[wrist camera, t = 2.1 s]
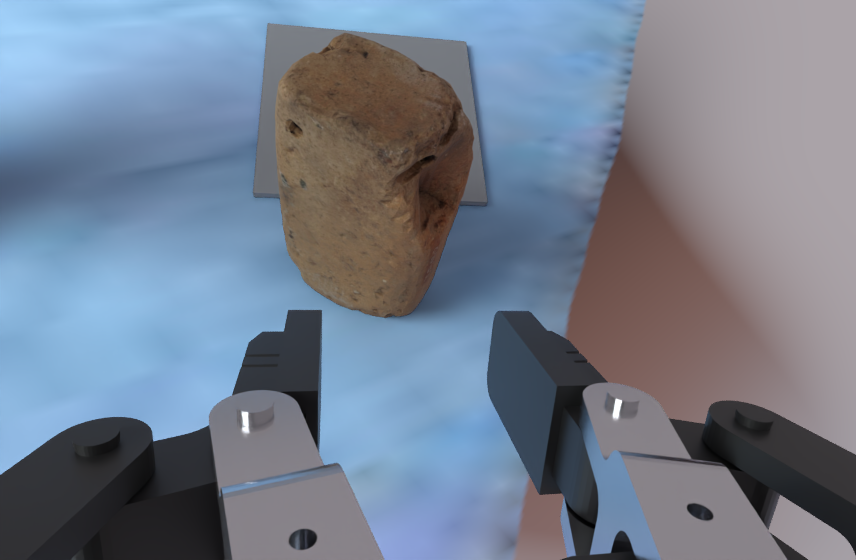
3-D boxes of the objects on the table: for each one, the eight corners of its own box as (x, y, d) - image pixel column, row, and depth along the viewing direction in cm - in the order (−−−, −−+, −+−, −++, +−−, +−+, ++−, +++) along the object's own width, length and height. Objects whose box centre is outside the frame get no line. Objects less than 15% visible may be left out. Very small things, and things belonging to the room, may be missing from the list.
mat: (253, 196, 46) (252, 192, 45) (268, 28, 55) (267, 23, 54) (485, 205, 49) (487, 202, 49) (464, 46, 58) (466, 41, 58)
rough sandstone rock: (279, 272, 43) (248, 79, 26) (334, 208, 47) (340, -2, 29) (396, 346, 42) (447, 197, 25) (443, 274, 46) (518, 98, 28)
